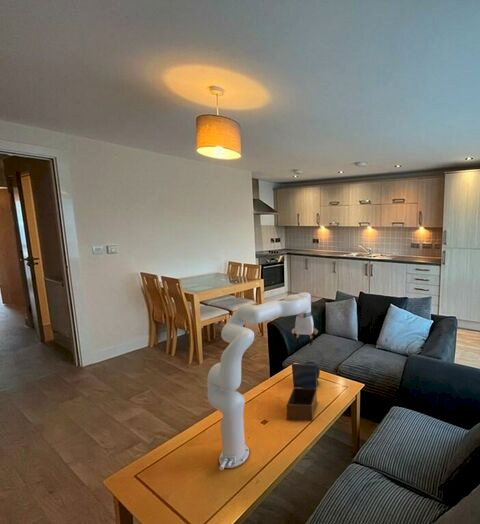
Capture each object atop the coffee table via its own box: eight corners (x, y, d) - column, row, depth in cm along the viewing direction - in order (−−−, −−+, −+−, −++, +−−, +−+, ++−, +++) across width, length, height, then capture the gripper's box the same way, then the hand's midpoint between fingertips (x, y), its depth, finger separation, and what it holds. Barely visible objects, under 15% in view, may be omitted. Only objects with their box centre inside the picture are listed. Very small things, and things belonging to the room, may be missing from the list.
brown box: (311, 420, 153) (311, 405, 151) (286, 419, 153) (286, 404, 152) (316, 402, 168) (316, 388, 167) (294, 401, 169) (293, 387, 167)
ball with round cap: (310, 392, 177) (310, 370, 175) (295, 385, 184) (294, 364, 182) (323, 382, 188) (323, 361, 186) (308, 376, 195) (308, 356, 193)
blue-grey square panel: (315, 365, 161) (315, 364, 162) (291, 364, 162) (291, 363, 162) (316, 388, 166) (316, 387, 167) (293, 387, 167) (293, 386, 168)
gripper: (287, 316, 159) (288, 346, 162) (318, 316, 158) (318, 347, 161) (291, 311, 167) (291, 340, 169) (320, 312, 166) (320, 341, 168)
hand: (305, 343), depth 165 cm, fingers open, 6 cm apart
